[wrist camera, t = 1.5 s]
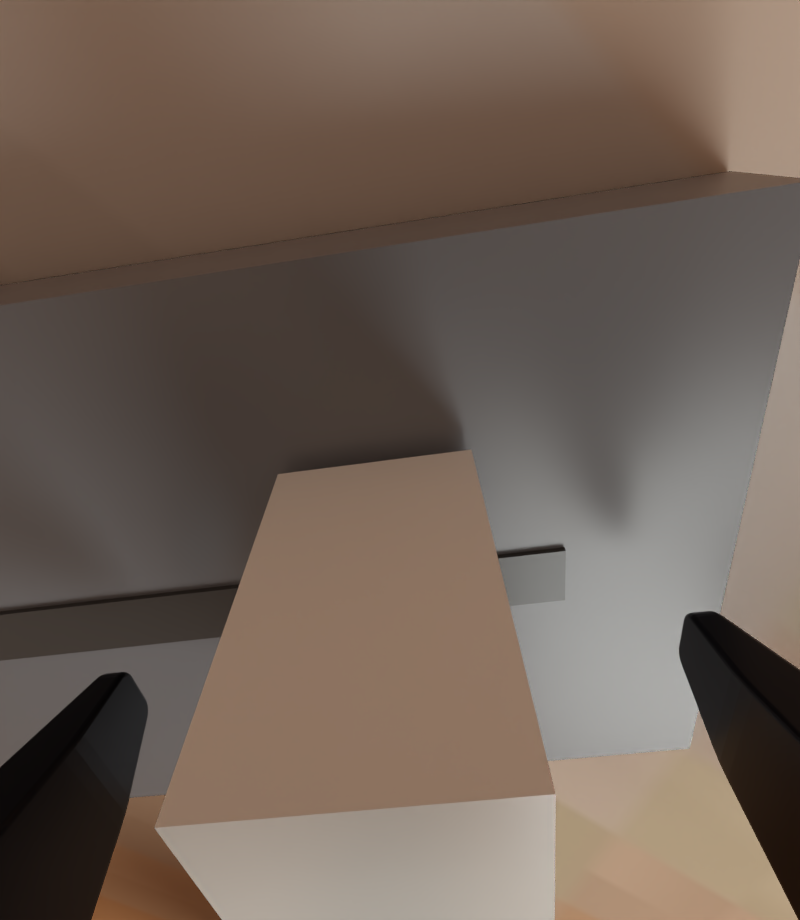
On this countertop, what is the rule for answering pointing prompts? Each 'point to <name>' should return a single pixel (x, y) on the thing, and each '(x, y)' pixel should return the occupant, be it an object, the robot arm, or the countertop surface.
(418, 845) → the fader tab
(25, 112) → the countertop surface
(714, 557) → the fader console
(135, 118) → the countertop surface
